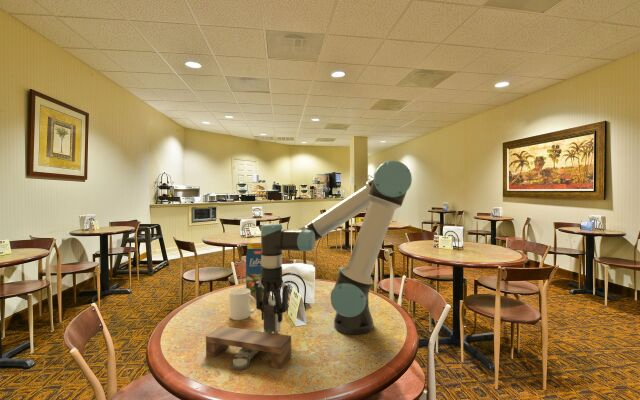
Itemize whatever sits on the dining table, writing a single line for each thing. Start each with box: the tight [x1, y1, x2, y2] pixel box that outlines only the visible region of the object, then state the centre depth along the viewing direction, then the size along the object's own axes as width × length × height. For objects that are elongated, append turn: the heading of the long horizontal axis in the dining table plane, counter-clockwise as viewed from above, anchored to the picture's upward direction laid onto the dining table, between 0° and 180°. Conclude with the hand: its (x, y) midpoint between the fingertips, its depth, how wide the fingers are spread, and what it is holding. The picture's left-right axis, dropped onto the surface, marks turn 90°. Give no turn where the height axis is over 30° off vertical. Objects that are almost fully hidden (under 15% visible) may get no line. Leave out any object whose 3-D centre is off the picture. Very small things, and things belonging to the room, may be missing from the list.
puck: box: [232, 353, 251, 371], centre depth 92 cm, size 5×5×2 cm
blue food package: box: [245, 243, 264, 292], centre depth 166 cm, size 6×12×25 cm, turn 89°
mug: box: [228, 287, 258, 321], centre depth 129 cm, size 9×12×11 cm
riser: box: [205, 325, 292, 370], centre depth 98 cm, size 26×8×6 cm, turn 73°
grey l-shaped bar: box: [238, 299, 281, 360], centre depth 104 cm, size 21×4×11 cm, turn 162°
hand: (272, 329), depth 112 cm, fingers closed on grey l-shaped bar, 4 cm apart
